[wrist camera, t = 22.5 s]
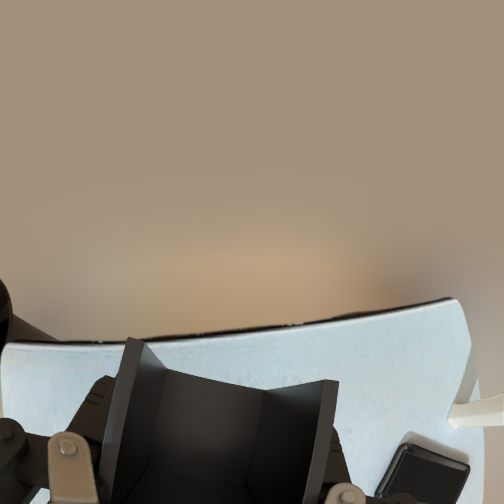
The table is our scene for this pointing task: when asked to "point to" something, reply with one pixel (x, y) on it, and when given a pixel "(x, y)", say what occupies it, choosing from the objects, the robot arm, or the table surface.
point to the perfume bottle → (478, 413)
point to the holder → (211, 438)
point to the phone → (424, 476)
